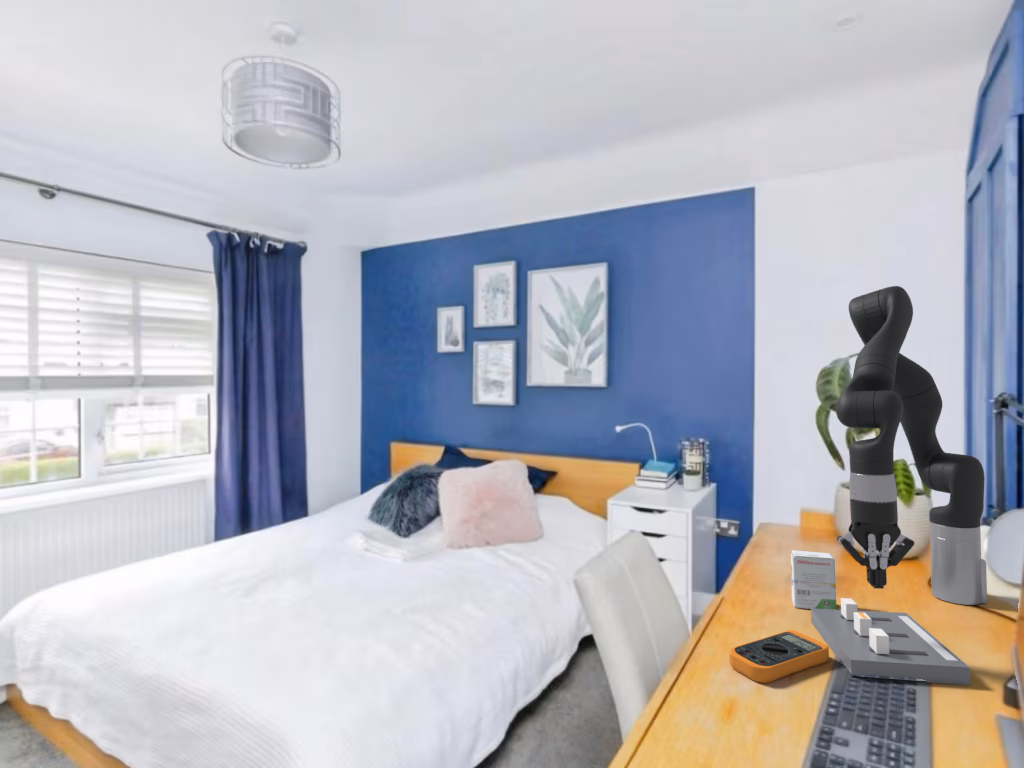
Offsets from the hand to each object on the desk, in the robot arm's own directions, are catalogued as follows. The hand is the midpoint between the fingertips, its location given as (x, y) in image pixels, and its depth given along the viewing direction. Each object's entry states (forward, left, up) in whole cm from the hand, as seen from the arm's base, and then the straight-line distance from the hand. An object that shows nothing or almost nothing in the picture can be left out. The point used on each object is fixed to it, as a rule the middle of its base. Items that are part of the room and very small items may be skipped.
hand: (876, 587), depth 106 cm
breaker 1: (+2, -7, -9) cm, 12 cm away
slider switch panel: (-1, 0, -12) cm, 12 cm away
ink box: (+5, -21, -12) cm, 24 cm away
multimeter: (+20, +8, -13) cm, 25 cm away
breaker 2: (+2, +7, -9) cm, 11 cm away
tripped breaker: (+3, 0, -9) cm, 9 cm away
